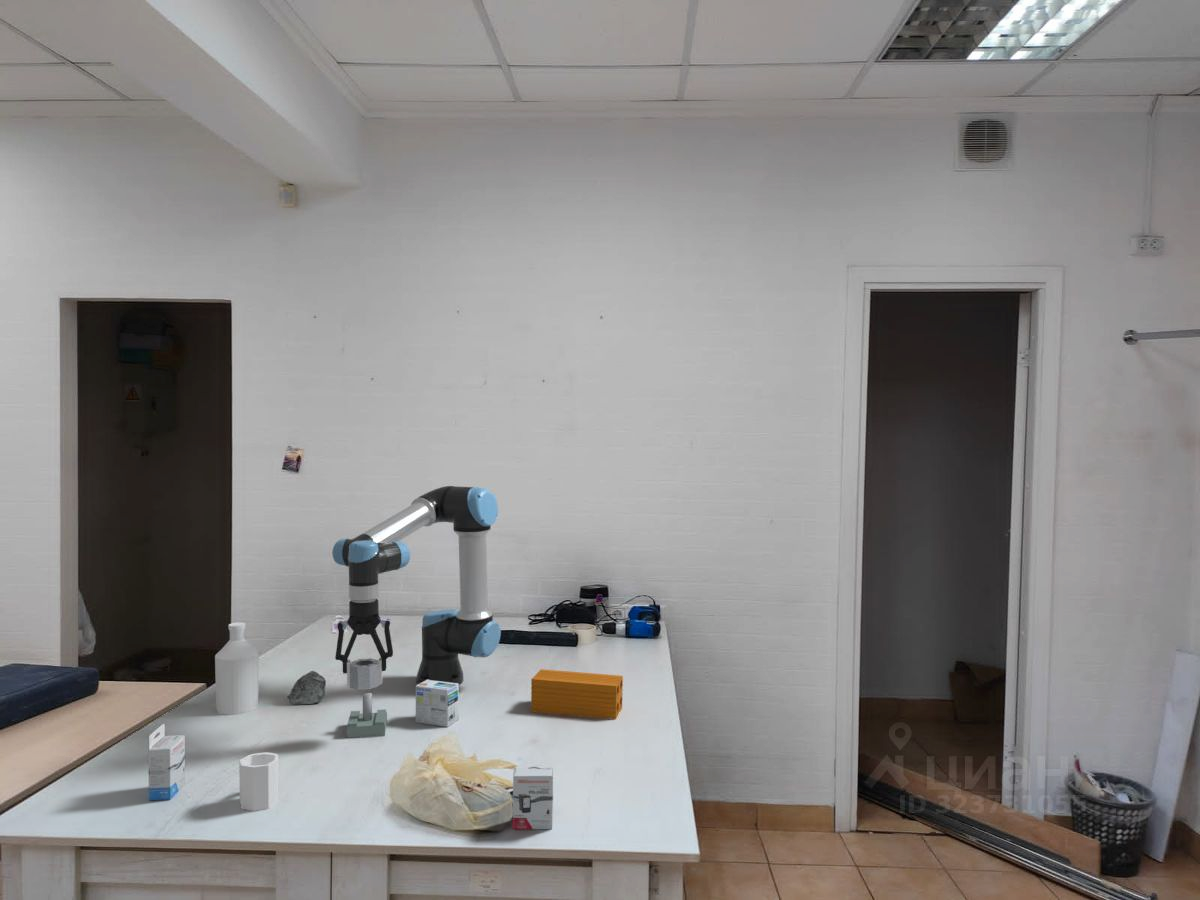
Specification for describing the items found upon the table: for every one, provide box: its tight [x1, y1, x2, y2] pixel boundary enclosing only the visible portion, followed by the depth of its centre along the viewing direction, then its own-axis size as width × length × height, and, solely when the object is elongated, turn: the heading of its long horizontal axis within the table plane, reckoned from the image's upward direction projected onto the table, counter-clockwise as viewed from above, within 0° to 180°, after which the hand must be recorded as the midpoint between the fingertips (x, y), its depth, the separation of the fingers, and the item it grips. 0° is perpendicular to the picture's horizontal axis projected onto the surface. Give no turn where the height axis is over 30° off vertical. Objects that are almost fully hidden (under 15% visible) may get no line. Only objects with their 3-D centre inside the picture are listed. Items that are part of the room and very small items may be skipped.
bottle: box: [214, 621, 260, 716], centre depth 249 cm, size 12×12×25 cm
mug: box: [238, 751, 280, 812], centre depth 191 cm, size 12×9×10 cm
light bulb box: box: [415, 680, 460, 728], centre depth 241 cm, size 11×7×11 cm, turn 71°
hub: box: [349, 657, 380, 691], centre depth 226 cm, size 7×7×6 cm
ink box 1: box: [147, 723, 186, 801], centre depth 194 cm, size 9×5×15 cm, turn 5°
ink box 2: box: [512, 765, 554, 831], centre depth 181 cm, size 9×5×12 cm, turn 93°
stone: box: [286, 670, 327, 706], centre depth 256 cm, size 10×10×10 cm
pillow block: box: [346, 692, 388, 739], centre depth 233 cm, size 10×10×10 cm
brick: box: [530, 668, 624, 720], centre depth 251 cm, size 26×10×10 cm, turn 78°
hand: (364, 683), depth 226 cm, fingers closed on hub, 7 cm apart
